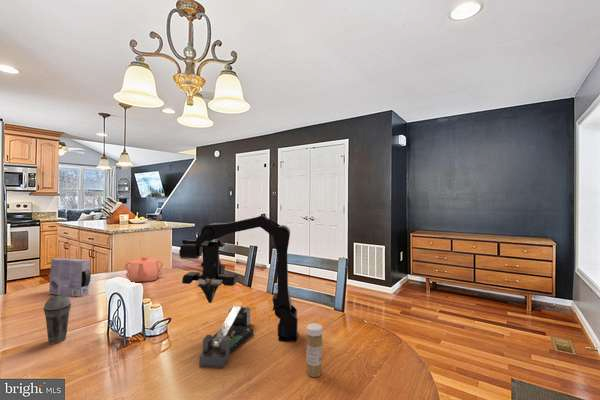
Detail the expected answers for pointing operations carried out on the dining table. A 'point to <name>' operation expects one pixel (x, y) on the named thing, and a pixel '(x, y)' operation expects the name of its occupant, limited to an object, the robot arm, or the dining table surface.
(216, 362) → the bracket
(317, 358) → the sprinkles bottle
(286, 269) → the robot arm
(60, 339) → the beverage cup
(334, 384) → the dining table surface
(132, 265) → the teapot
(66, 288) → the cake pan box
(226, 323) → the long grey bar
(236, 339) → the disk drive
